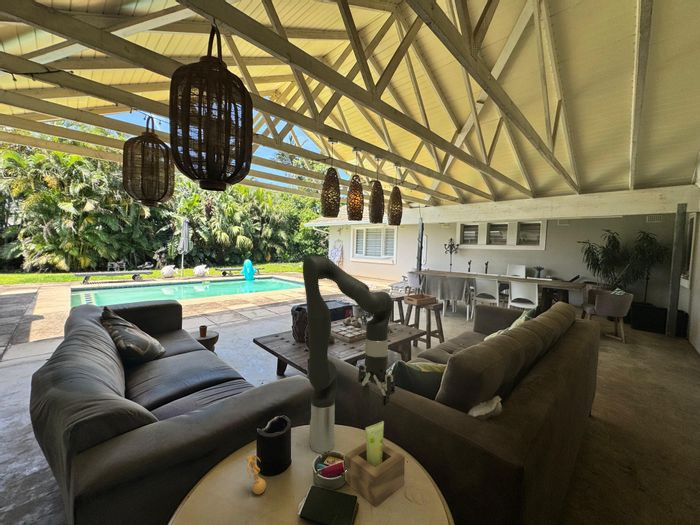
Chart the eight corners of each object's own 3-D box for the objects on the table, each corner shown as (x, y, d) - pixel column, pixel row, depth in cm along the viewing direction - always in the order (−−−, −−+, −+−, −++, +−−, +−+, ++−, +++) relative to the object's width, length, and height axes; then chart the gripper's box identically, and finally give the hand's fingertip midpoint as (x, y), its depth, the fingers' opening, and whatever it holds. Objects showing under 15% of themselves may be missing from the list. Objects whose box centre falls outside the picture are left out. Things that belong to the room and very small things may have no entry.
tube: (380, 490, 95) (380, 429, 95) (364, 487, 96) (365, 427, 96) (383, 478, 100) (383, 420, 100) (368, 475, 102) (369, 418, 102)
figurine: (260, 503, 89) (261, 463, 89) (241, 502, 90) (241, 462, 90) (269, 483, 98) (270, 446, 98) (251, 482, 98) (252, 445, 98)
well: (344, 481, 99) (344, 454, 99) (373, 462, 108) (373, 438, 108) (375, 507, 88) (375, 477, 88) (404, 484, 98) (404, 456, 98)
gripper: (353, 349, 101) (352, 397, 101) (385, 360, 90) (384, 413, 90) (368, 345, 106) (367, 390, 106) (400, 355, 95) (399, 405, 95)
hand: (375, 401), depth 98 cm, fingers open, 8 cm apart
